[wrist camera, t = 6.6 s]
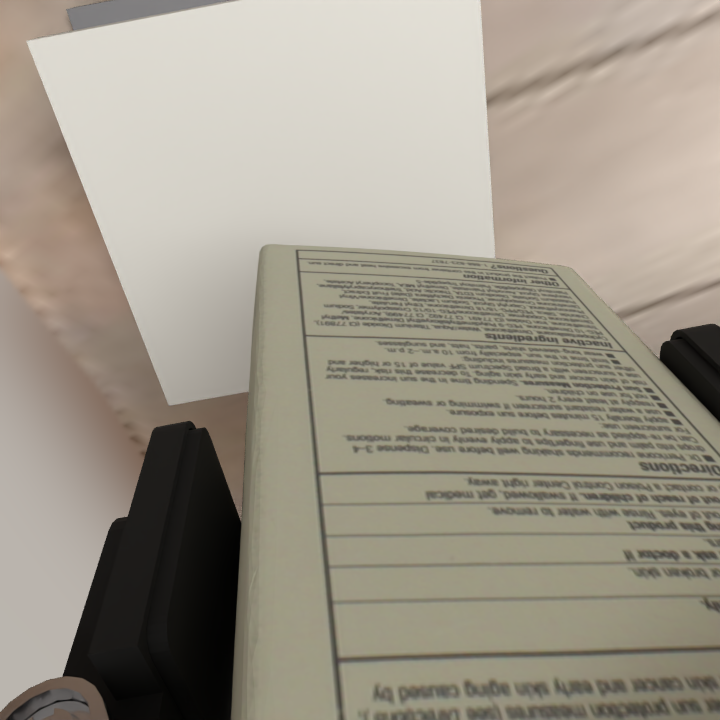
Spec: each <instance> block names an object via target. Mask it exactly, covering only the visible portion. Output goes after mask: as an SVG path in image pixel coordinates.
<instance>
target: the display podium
mask: <svg viewBox="0 0 720 720" xmlns="http://www.w3.org/2000/svg"><path fill="white" fill-rule="evenodd" d="M66 10H67V13H68V16H69V19H70V21H71V24H72V27H73V30H74V31H69V32H63V33H58V34H53V35H48V36H43V37H38V38H35V39H31V40H28V41H27V44H28V46H29V49H30V52H31V54H32V57H33V59H34V62H35V64H36V67H37V69H38V72H39V75H40V77H41V80H42V82H43V85H44V87H45V90H46V93H47V95H48V98H49V100H50V103H51V105H52V108H53V110H54V113H55V116H56V118H57V121H58V123H59V126H60V128H61V131H62V134H63V136H64V139H65V141H66V144H67V146H68V149H69V151H70V154H71V157H72V159H73V162H74V164H75V167H76V169H77V172H78V175H79V177H80V180H81V182H82V185H83V187H84V190H85V192H86V195H87V198H88V200H89V203H90V205H91V208H92V210H93V213H94V215H95V218H96V221H97V223H98V226H99V228H100V231H101V233H102V236H103V239H104V241H105V244H106V246H107V249H108V251H109V254H110V256H111V259H112V262H113V264H114V267H115V269H116V272H117V274H118V277H119V280H120V282H121V285H122V287H123V290H124V292H125V295H126V297H127V300H128V303H129V305H130V308H131V310H132V313H133V315H134V318H135V321H136V323H137V326H138V328H139V331H140V333H141V336H142V338H143V341H144V344H145V346H146V349H147V351H148V354H149V356H150V359H151V362H152V364H153V367H154V369H155V372H156V374H157V377H158V379H159V382H160V385H161V387H162V390H163V392H164V395H165V397H166V400H167V402H168V405H169V406H171V405H176V404H182V403H187V402H193V401H199V400H204V399H210V398H216V397H221V396H227V395H233V394H238V393H244V392H249V380H250V364H251V345H252V327H253V316H254V304H255V292H256V282H257V272H258V262H259V252H260V250H261V248H262V247H263V246H265V245H268V244H279V245H301V246H321V247H343V248H360V249H378V250H395V251H408V252H421V253H435V254H449V255H460V256H472V257H484V258H495V243H494V226H493V209H492V192H491V175H490V158H489V141H488V124H487V107H486V89H485V72H484V55H483V38H482V21H481V4H480V0H110V1H105V2H100V3H95V4H90V5H84V6H79V7H74V8H70V9H66Z"/></svg>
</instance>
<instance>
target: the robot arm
mask: <svg viewBox="0 0 720 720" xmlns="http://www.w3.org/2000/svg"><path fill="white" fill-rule="evenodd" d="M660 361H661V362H662V363H663V364H664V365H665V366H666V367H667V368H668V369H669V370H670V371H671V372H672V373H673V374H674V375H675V376H676V377H677V378H678V379H679V380H680V381H681V382H682V383H683V384H684V385H685V386H686V388H687V389H688V390H689V391H690V392H691V393H692V394H693V395H694V396H695V397H696V398H697V399H698V400H699V401H700V402H701V403H702V404H703V405H704V406H705V407H706V408H707V409H708V410H709V411H710V413H711V414H712V415H713V416H714V417H715V418H716V419H717V420H718V421H719V422H720V327H719V326H717V325H716V324H707V325H702V326H696V327H691V328H686V329H680V330H676V331H675V332H673V334H672V336H671V339H670V341H666V342H664V343H663V344H662V346H661V351H660ZM240 539H241V521H240V518H239V515H238V513H237V510H236V507H235V504H234V502H233V499H232V496H231V493H230V490H229V488H228V485H227V482H226V479H225V477H224V474H223V471H222V468H221V465H220V463H219V460H218V457H217V454H216V452H215V449H214V446H213V443H212V440H211V438H210V435H209V433H208V431H207V429H206V428H199V429H196V428H195V425H194V424H193V423H192V422H191V421H187V422H181V423H176V424H171V425H165V426H160V427H156V428H154V430H153V432H152V435H151V438H150V442H149V445H148V448H147V452H146V455H145V459H144V462H143V466H142V470H141V473H140V476H139V480H138V483H137V486H136V490H135V493H134V497H133V500H132V504H131V507H130V511H129V514H128V517H123V518H118V519H116V520H115V521H114V522H113V523H112V525H111V527H110V529H109V531H108V535H107V538H106V541H105V544H104V547H103V550H102V553H101V557H100V560H99V563H98V566H97V569H96V572H95V576H94V579H93V582H92V585H91V588H90V591H89V595H88V598H87V601H86V604H85V607H84V610H83V613H82V617H81V620H80V623H79V626H78V629H77V633H76V636H75V639H74V642H73V645H72V648H71V652H70V654H69V658H68V661H67V664H66V667H65V670H64V673H63V677H60V678H55V679H50V680H46V681H44V682H42V683H40V684H38V685H35V686H33V687H31V688H29V689H28V690H26V691H25V692H23V693H22V694H20V695H19V696H18V697H16V698H15V699H13V700H12V701H11V702H10V703H9V704H8V705H7V706H6V707H5V708H4V709H3V710H2V711H1V712H0V720H231V708H232V687H233V666H234V645H235V627H236V610H237V592H238V574H239V557H240Z"/></svg>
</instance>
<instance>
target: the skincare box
mask: <svg viewBox="0 0 720 720" xmlns="http://www.w3.org/2000/svg"><path fill="white" fill-rule="evenodd" d="M231 720H720V422H719V421H718V420H717V419H716V418H715V417H714V416H713V415H712V414H711V413H710V411H709V410H708V409H707V408H706V407H705V406H704V405H703V404H702V403H701V402H700V401H699V400H698V399H697V398H696V397H695V396H694V395H693V394H692V393H691V392H690V391H689V390H688V389H687V388H686V386H685V385H684V384H683V383H682V382H681V381H680V380H679V379H678V378H677V377H676V376H675V375H674V374H673V373H672V372H671V371H670V370H669V369H668V368H667V367H666V366H665V365H664V364H663V363H662V362H661V361H660V360H659V359H658V357H657V356H656V355H655V354H654V353H653V352H652V351H651V350H650V349H649V348H648V347H647V346H646V345H645V344H644V343H643V342H642V341H641V340H640V339H639V338H638V337H637V336H636V335H635V334H634V333H633V332H632V331H631V330H630V328H629V327H628V326H627V325H626V324H625V323H624V322H623V321H622V320H621V319H620V318H619V317H618V316H617V315H616V314H615V313H614V312H613V311H612V310H611V308H610V307H609V306H608V305H607V304H606V303H605V302H604V301H603V300H602V299H601V298H600V297H599V296H597V295H596V294H595V292H594V291H593V290H592V289H591V288H590V287H589V286H588V285H587V284H586V283H585V282H584V281H583V280H582V279H581V278H580V276H579V275H578V274H577V273H576V272H575V271H574V270H573V269H571V268H569V267H565V266H561V265H549V264H541V263H533V262H525V261H513V260H505V259H495V258H484V257H472V256H460V255H449V254H435V253H421V252H408V251H395V250H378V249H360V248H343V247H321V246H301V245H279V244H268V245H265V246H263V247H262V248H261V250H260V252H259V262H258V272H257V282H256V292H255V304H254V316H253V327H252V345H251V364H250V380H249V393H248V407H247V422H246V438H245V460H244V482H243V504H242V521H241V539H240V557H239V574H238V592H237V610H236V627H235V645H234V666H233V687H232V708H231Z"/></svg>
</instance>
